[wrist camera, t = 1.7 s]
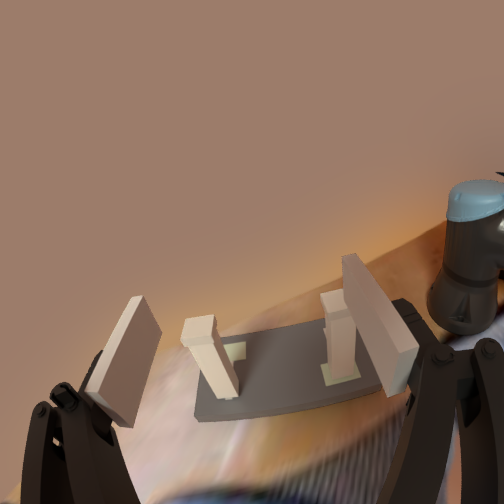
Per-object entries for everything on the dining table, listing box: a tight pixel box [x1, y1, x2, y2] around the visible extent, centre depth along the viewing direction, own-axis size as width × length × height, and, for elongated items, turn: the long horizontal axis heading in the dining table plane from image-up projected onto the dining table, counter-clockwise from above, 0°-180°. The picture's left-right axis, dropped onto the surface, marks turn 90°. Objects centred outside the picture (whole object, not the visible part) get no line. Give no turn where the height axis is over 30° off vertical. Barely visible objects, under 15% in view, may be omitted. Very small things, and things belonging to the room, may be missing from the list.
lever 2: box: [320, 288, 356, 380], centre depth 31 cm, size 4×4×13 cm
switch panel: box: [194, 318, 382, 422], centre depth 39 cm, size 26×16×2 cm, turn 92°
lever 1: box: [181, 314, 239, 399], centre depth 32 cm, size 4×4×13 cm
